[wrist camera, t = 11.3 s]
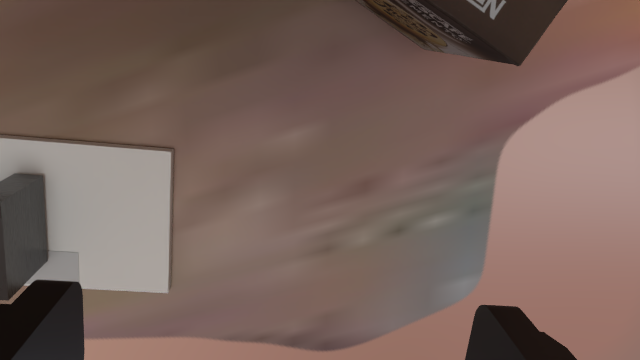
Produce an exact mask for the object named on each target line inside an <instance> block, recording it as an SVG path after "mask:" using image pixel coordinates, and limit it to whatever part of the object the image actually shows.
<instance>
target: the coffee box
mask: <svg viewBox="0 0 640 360" xmlns="http://www.w3.org/2000/svg"><path fill="white" fill-rule="evenodd" d="M356 1H357V2H359V3H360V4H362V5H363V6H364V7H366V8H367V9H369V10H370V11H371V12H373V13H374V14H376V15H377V16H378V17H380V18H381V19H382V20H384V21H385V22H387V23H388V24H389V25H391V26H392V27H394V28H395V29H396V30H398V31H399V32H401V33H402V34H403V35H405V36H406V37H408V38H409V39H410V40H412V41H413V42H414V43H416V44H417V45H419V46H420V47H422V48H423V49H425V50H431V51H437V52H443V53H449V54H455V55H461V56H467V57H473V58H479V59H484V60H490V61H496V62H502V63H508V64H514V65H517V66H520V65H521V64H522V62H523V61H524V60H525V58H526V57H527V56H528V54H529V53H530V51H531V50H532V49H533V47H534V46H535V45H536V43H537V42H538V40H539V39H540V38H541V36H542V35H543V33H544V32H545V31H546V29H547V28H548V26H549V25H550V24H551V22H552V21H553V19H554V18H555V16H556V15H557V14H558V12H559V11H560V10H561V8H562V7H563V6H564V4H565V3H566V2H567V0H356Z"/></svg>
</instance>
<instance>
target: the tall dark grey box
mask: <svg viewBox="0 0 640 360" xmlns="http://www.w3.org/2000/svg"><path fill="white" fill-rule="evenodd" d="M47 261H48V259H47V240H46V221H45V202H44V183H43V175H31V174H17V173H15V174H13V175H11V176H9V177H7V178H6V179H4V180H2V181H0V300H9V299H10V298H11V297H12V296H13V295H14V294H15V293H16V292H17V291H18V290H19V289H20V288H21V287H22V286H23V285H24V284H25V283H26V282H27V281H28V280H29V279H30V278H31V277H32V276H33V275H34V274H35V273H36V272H37V271H38V270H39V269H40V268H41V267H42V266H43V265H44V264H45V263H46V262H47Z"/></svg>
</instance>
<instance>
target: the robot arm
mask: <svg viewBox="0 0 640 360" xmlns="http://www.w3.org/2000/svg"><path fill="white" fill-rule="evenodd" d="M0 360H84V324H83V295H82V288H81V285H80V283H79V282H75V281H57V280H39V279H38V280H35V281H34V282H32V283H31V284H30V285H29V286H28V287H27V288H26V290H25V291H24V292H23V293H22V294H21V295H20V296H19V297H18V298H17V299H16V300H15V301H14V302H13V303H12V304H0ZM465 360H577V359H576V358H575V357H574V356H573V355H572V353H571V352H570V351H569V350H568V349H567V348H566V347H565V346H563V345H562V344H560V343H559V342H557V341H556V340H554V339H553V338H551V337H550V336H548V335H547V334H546V333H544V332H539V331H538V329H537V328H536V327H535V326H534V324H532V322H531V321H530V320H529V319H528V317H527V316H526V315H525V314H524V313H523V312H522V310H521V309H520V308H518V307H513V306H495V305H481V306H479V307H478V309H477V310H476V313H475V316H474V321H473V325H472V330H471V335H470V339H469V344H468V349H467V353H466V358H465Z"/></svg>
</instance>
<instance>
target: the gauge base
mask: <svg viewBox="0 0 640 360" xmlns="http://www.w3.org/2000/svg"><path fill="white" fill-rule="evenodd" d="M173 160H174V149H170V148H158V147H146V146H133V145H121V144H109V143H97V142H84V141H72V140H60V139H48V138H35V137H23V136H11V135H0V181H2V180H4V179H6V178H7V177H9V176H11V175H13V174H15V173H17V174H31V175H43V183H44V202H45V221H46V240H47V259H48V261H47V262H46V263H45V264H44V265H43V266H42V267H41V268H40V269H39V270H38V271H37V272H36V273H35V274H34V275H33V276H32V277H31V278H30V279H29V280H28V281H27V282H26V283H25V284H24V285H25V286H29V285H30V284H31V283H32V282H34V281H35V280H38V279H39V280H57V281H75V282H79V283H80V285H81V288H82V289H100V290H118V291H137V292H156V293H168V292H169V290H170V288H171V250H172V205H173Z"/></svg>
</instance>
